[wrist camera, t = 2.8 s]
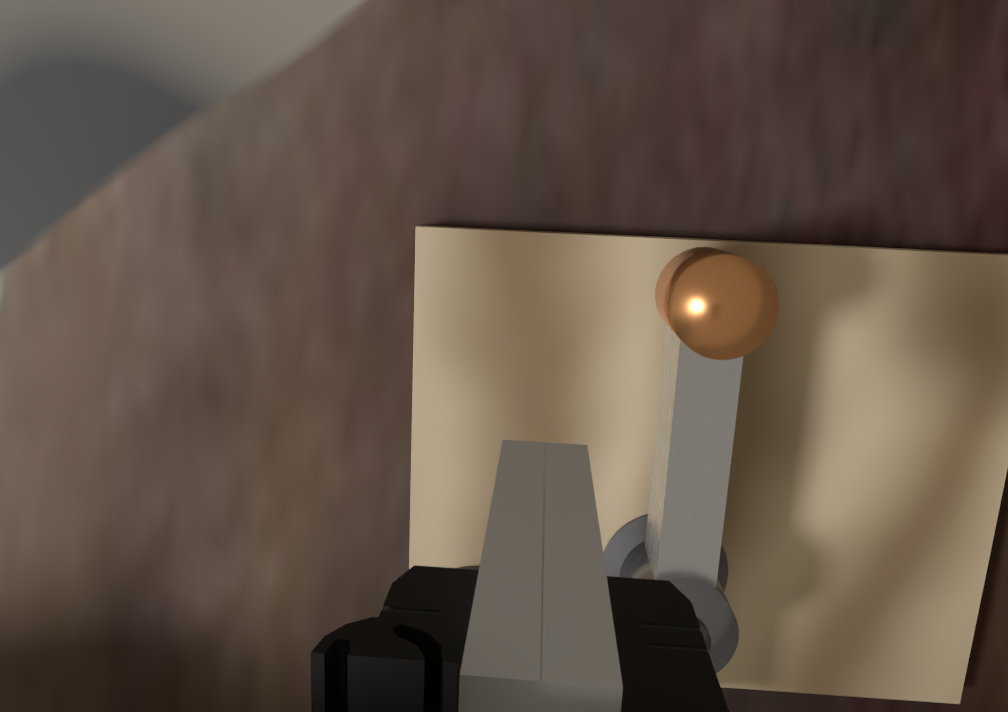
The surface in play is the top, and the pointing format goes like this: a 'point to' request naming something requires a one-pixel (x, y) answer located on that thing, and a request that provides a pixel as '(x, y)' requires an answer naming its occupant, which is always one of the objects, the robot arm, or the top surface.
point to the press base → (741, 434)
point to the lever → (700, 426)
